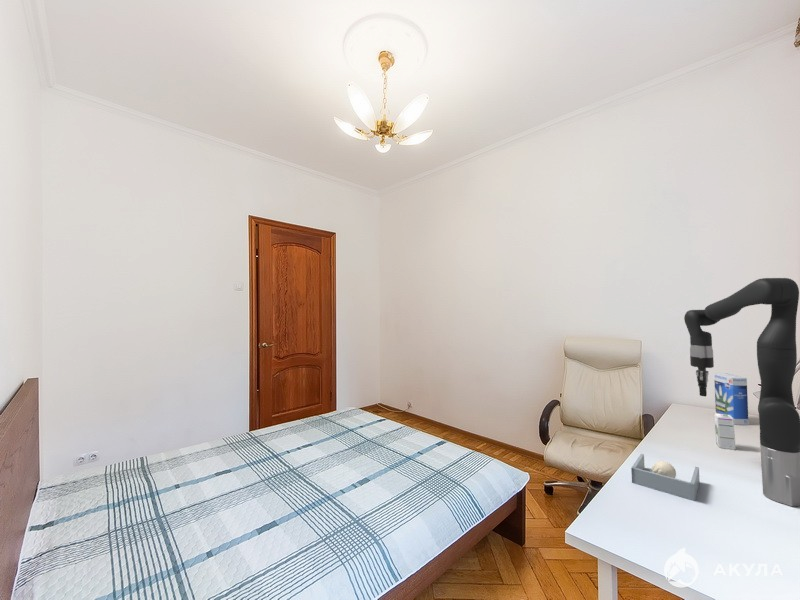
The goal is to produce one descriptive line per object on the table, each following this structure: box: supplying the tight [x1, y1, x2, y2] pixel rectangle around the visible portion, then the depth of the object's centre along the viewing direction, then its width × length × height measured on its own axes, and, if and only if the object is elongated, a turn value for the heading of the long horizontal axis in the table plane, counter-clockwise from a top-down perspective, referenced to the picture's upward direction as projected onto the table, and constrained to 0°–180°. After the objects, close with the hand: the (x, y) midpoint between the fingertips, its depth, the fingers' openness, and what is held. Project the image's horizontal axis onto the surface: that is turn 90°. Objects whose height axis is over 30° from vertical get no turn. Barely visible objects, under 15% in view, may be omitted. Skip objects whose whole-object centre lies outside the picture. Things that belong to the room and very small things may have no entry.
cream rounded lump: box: [651, 460, 677, 479], centre depth 129 cm, size 7×7×7 cm
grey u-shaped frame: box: [631, 453, 701, 502], centre depth 127 cm, size 17×18×6 cm
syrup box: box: [713, 413, 736, 451], centre depth 157 cm, size 6×6×14 cm
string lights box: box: [713, 372, 749, 426], centre depth 191 cm, size 13×8×26 cm, turn 172°
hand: (703, 395), depth 146 cm, fingers closed
